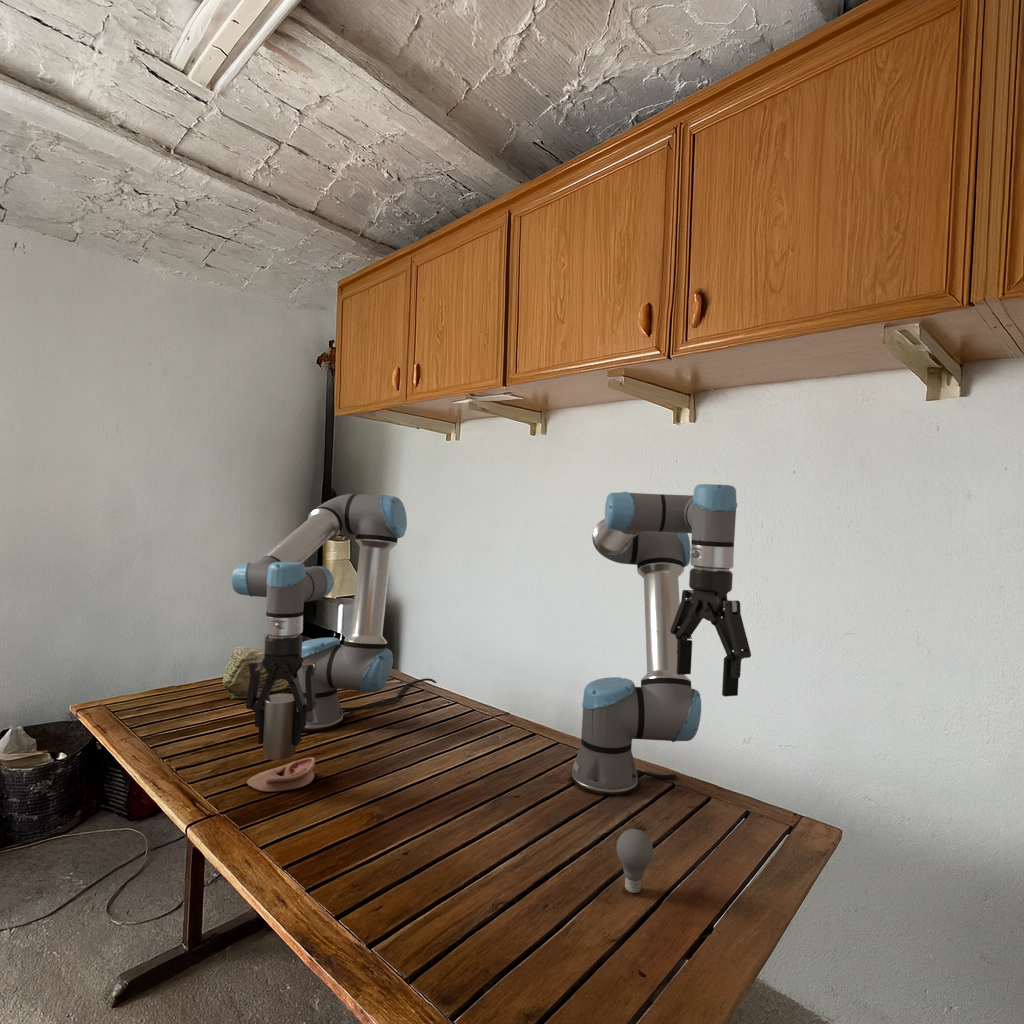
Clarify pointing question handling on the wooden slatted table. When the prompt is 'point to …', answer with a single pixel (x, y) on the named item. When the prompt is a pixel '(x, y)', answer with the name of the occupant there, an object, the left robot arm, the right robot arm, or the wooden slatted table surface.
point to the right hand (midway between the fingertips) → (705, 684)
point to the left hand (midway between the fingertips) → (279, 742)
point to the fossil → (247, 673)
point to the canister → (279, 727)
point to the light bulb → (634, 857)
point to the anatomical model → (284, 776)
